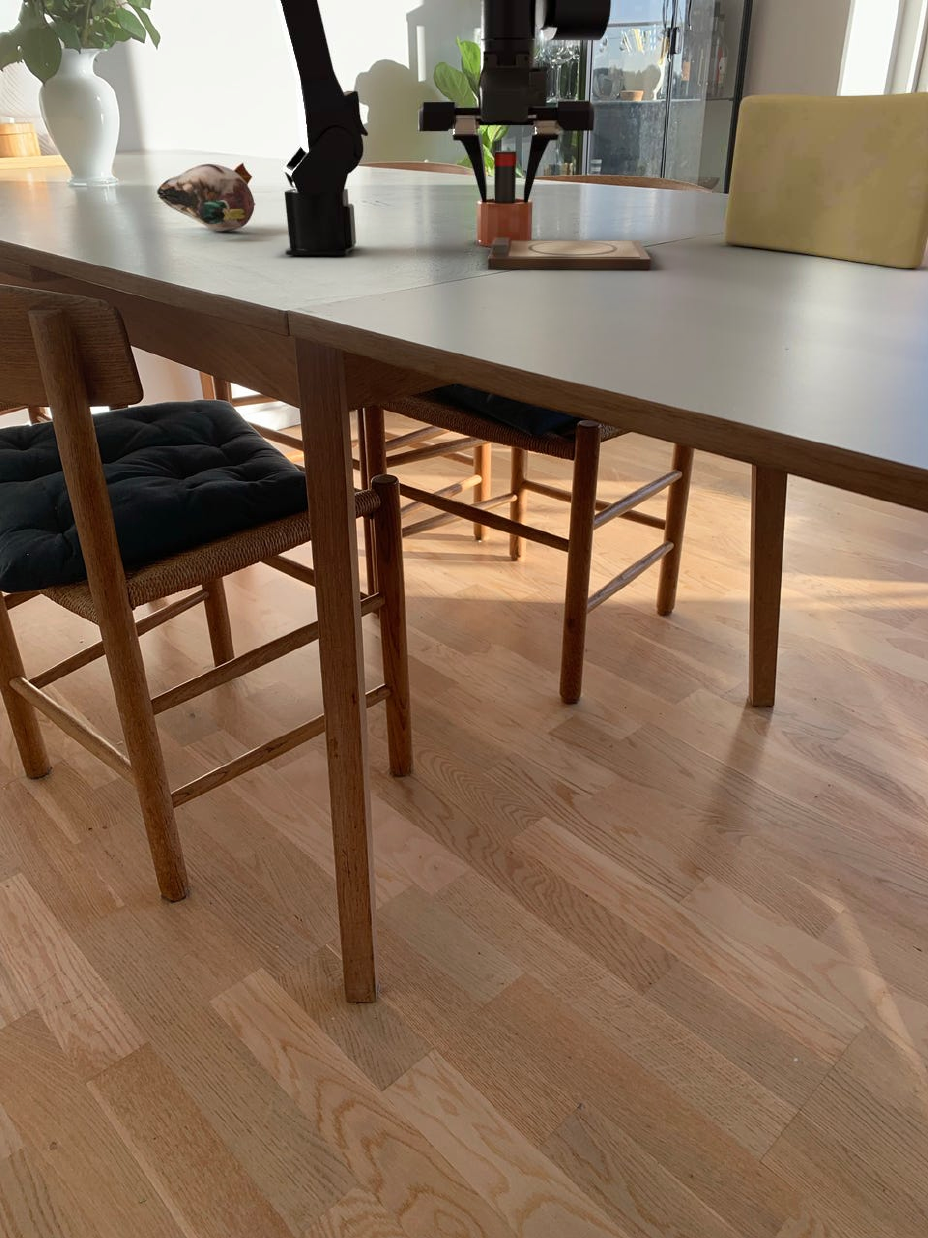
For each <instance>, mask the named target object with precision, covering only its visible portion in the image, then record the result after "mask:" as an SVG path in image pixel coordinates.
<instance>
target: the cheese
mask: <svg viewBox="0 0 928 1238" xmlns="http://www.w3.org/2000/svg"><path fill="white" fill-rule="evenodd" d="M732 157H733V158H732V165H731V172H730V179H729V180H730V181H729V189H728V195H727V202H726V210H725V219H724V225H723V226H724V227H723V234H722V240H723V242H724V243H725V244H727V245H733V246H738V247H739V246H740V247H749V248H756V249H764V250H772V251H780V252H788V253H795V254H802V255H811V256H818V257H825V258H830V259H836V260H837V259H838V260H844V261H851V262H857V263H864V264H869V265H877V266H884V267H891V268H897V269H912V268H918V267H920V266H921V265H922V263H923V261H924V256H925V252H926V247H927V243H928V91H915V92H914V91H913V92H905V93H904V92H903V93H889V94H865V95H863V94H861V95H829V94H828V95H827V94H825V95H824V94H807V93H806V94H805V93H804V94H803V93H767V94H764V93H763V94H753V95H752V94H751V95H748V96H745V97H743V98H742V100H741V101H740V104H739V110H738V117H737V125H736V133H735V141H734V149H733V156H732Z"/></svg>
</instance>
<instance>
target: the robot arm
mask: <svg viewBox="0 0 928 1238" xmlns="http://www.w3.org/2000/svg"><path fill="white" fill-rule="evenodd" d="M276 5H277V8H278V9H277V10H278V13H279V17H280V21H281V25H282V28H283V32H284V36H285V40H286V45H287V47H288V48H287V49H288V52H289V56H290V60H291V63H292V68H293V72H294V75H295V80H296V81H295V82H296V98H297V99H296V100H297V115H298V117H297V118H298V128H299V135H300V147H299V148H298V149H297V150H296V152H295V153H294V154H293V155H292V156H291V158H289V160H288V161H287V163H285V165H284V167H283V172H284V174H285V177H286V179H287V181H288V184H289V185H290V187H291V188H290V189H288V190H286V191H284V200H285V211H286V221H287V230H288V232H287V233H288V242H289V248H287V249H286V250H285V255H286V256H345V255H347V254H348V253H349V252H350V251H352V250H353V249H354V248H356V247H355V246H356V244H357V236H356V235H357V234H356V221H355V219H356V218H355V206H354V205H353V203H349V192H348V188H345V187H346V184H347V180H348V176H349V174H351V173H352V172H353V171H355V169H356V168H358V166H359V164H360V161H362V158H363V157H364V156H363V155H364V149H365V148H364V139H363V137H368V136H369V132H368V131H367V129H366V127H365V126H364V124H363V121H362V117H361V109H360V108H361V107H360V96H359V92H358V91H357V90H345V91H344V90H343V88H342V86H341V84H340V82H339V79H338V77H337V75H336V72H335V69H334V66H333V61H332V57H331V53H330V49H329V45H328V44H329V43H328V40H327V36H326V32H325V28H324V23H323V19H322V14H321V10H320V7H319V2H318V0H276ZM611 9H612V0H480V75H479V78H478V82H477V84H478V85H477V88H478V89H477V104H478V105H477V106H474V107H473V106H472V107H459V101H458V100H427V101H423V102H422V103H421V104H420V106H419V107H418V115H417V116H418V117H417V118H418V132H448V131H449V130H453V134H452V135H451V139H452V141H459V142H461V144H462V146H463V148H464V150H465V152H466V154H467V157H468V159H469V162H470V165H471V167H472V170H473V173H474V177H475V180H476V184H477V188H478V191H479V195H480V200H481V199H482V202H487V199H488V183H487V173H486V172H487V171H486V162H485V152H484V151H485V150H484V141H483V133H482V132H479V131H478V130H479V129H480V127H481V126H533V127H532V129H534V131H535V132H532V133H531V137H530V138H531V139H530V146H529V152H528V154H529V155H528V160H527V166H526V173H525V180H524V186H523V199H524V202H528V199H529V198H530V195H531V193H532V189H533V185H534V182H535V178H536V176H537V172H538V169H539V166H540V164H541V161H542V159H543V157H544V154H545V152H546V149H547V147H548V145H549V143H550V141H559V140H560V134H559V129H562V131H564V132H593V131H594V130H595V129H594V127H595V105H594V104H593V103H592V102H591V101H590V100H588V99H585V100H584V99H583V100H574V99H573V100H570V99H569V100H557V101H556V106H547V105H548V103H547V102H548V100H547V99H548V74H549V67H547V66H535V60H536V57H535V56H536V55H535V53H536V27H537V28H538V30H539V31H543V34H544V36H545V38H546V40H548V41H600V40H602V39H603V38H604V36H605V34H606V32H607V29H608V26H609V22H610V16H611Z"/></svg>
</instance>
